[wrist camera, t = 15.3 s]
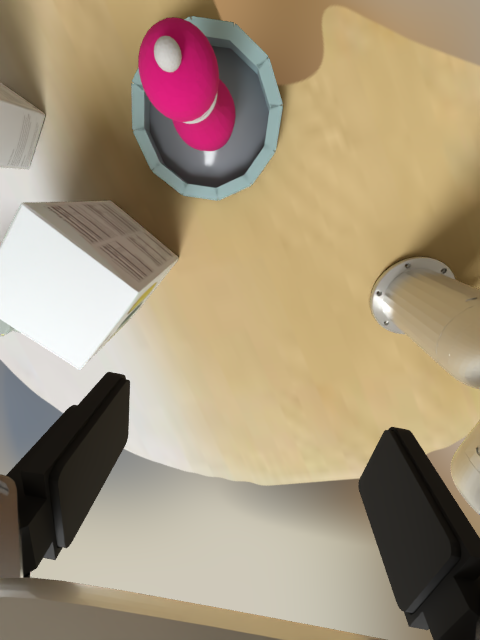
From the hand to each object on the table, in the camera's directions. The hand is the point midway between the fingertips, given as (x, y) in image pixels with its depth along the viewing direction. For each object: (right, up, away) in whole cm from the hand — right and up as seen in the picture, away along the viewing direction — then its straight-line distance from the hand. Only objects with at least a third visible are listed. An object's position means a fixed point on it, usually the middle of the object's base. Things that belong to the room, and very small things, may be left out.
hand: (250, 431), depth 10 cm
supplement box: (-19, +13, +35) cm, 42 cm away
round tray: (-4, +30, +27) cm, 41 cm away
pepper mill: (-4, +29, +26) cm, 40 cm away
